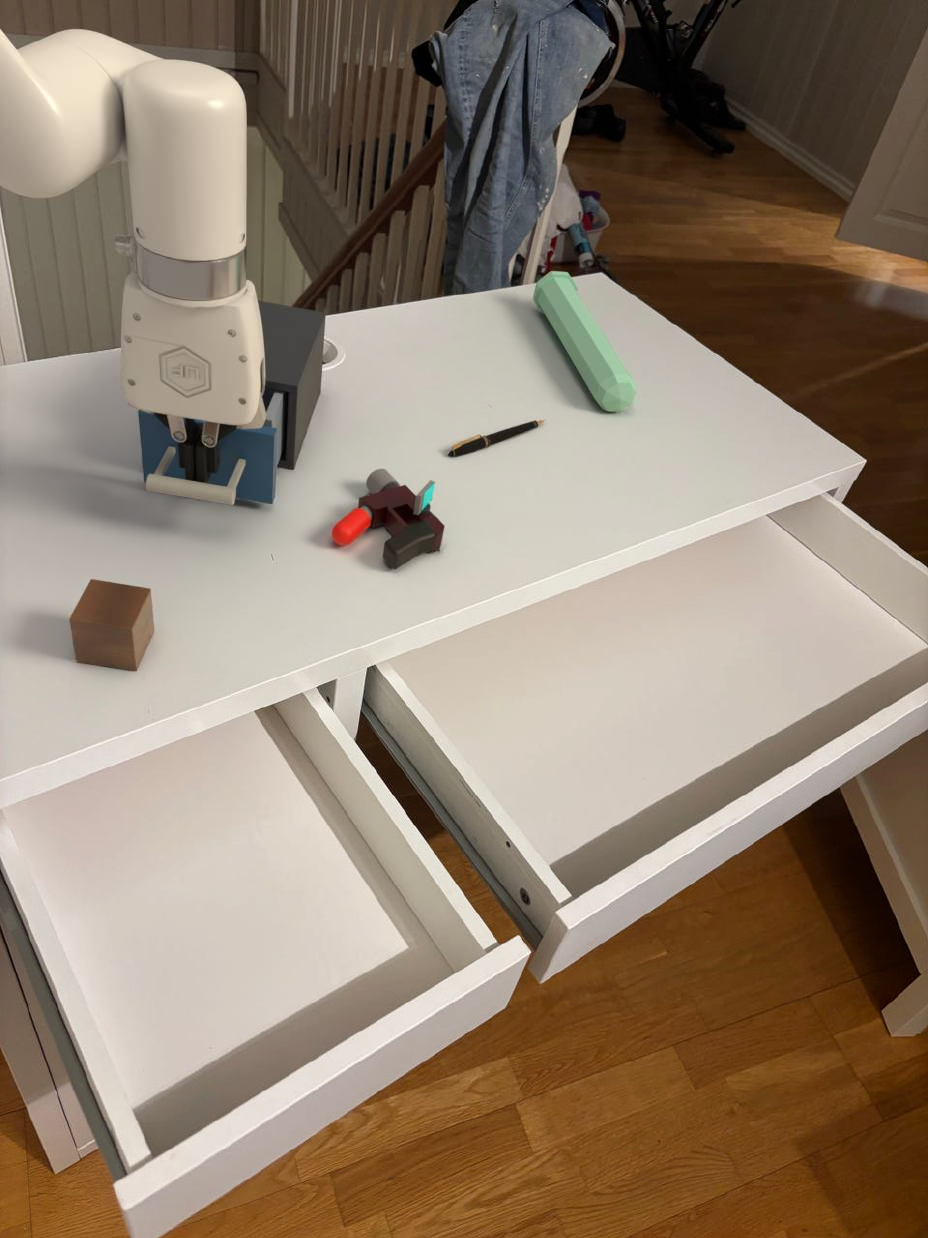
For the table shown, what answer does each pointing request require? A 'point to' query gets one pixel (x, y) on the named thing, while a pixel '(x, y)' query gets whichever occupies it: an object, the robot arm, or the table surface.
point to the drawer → (241, 458)
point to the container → (585, 341)
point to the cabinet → (293, 366)
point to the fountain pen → (491, 439)
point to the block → (112, 624)
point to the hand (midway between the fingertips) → (200, 475)
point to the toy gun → (394, 519)
